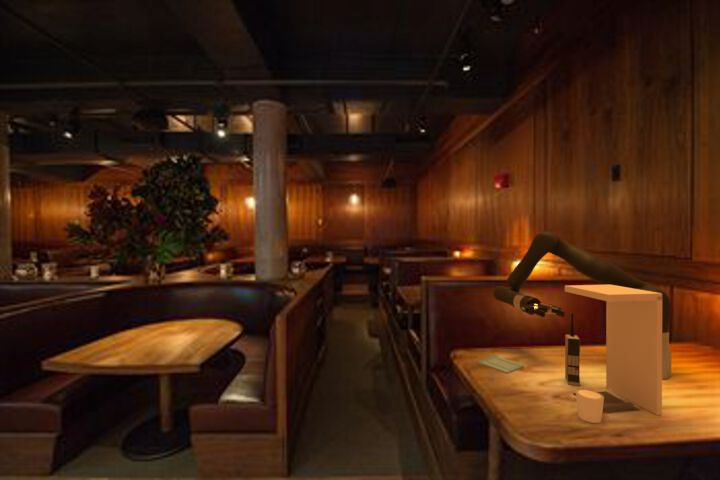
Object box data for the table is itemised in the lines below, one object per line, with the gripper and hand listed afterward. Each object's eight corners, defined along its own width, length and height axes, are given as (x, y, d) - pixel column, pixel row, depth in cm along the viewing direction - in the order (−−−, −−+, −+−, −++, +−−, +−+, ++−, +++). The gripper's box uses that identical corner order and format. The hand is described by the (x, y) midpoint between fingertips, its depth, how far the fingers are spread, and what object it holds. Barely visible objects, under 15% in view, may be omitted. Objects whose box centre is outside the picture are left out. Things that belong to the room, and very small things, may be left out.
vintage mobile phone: (567, 384, 119) (567, 314, 119) (565, 379, 124) (565, 311, 124) (580, 386, 118) (580, 315, 118) (577, 380, 123) (577, 312, 122)
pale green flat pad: (524, 368, 136) (524, 365, 136) (507, 375, 129) (507, 371, 129) (495, 358, 147) (495, 355, 147) (477, 364, 140) (477, 361, 140)
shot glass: (570, 412, 101) (570, 389, 101) (591, 411, 102) (591, 388, 102) (587, 424, 94) (587, 400, 94) (610, 423, 95) (610, 399, 95)
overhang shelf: (610, 387, 117) (610, 284, 117) (661, 414, 99) (662, 293, 99) (564, 390, 115) (564, 285, 115) (608, 418, 97) (608, 294, 97)
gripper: (512, 295, 145) (538, 305, 129) (542, 295, 147) (571, 304, 131) (511, 312, 145) (537, 324, 129) (540, 311, 148) (569, 323, 132)
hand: (554, 314), depth 130 cm, fingers open, 8 cm apart
